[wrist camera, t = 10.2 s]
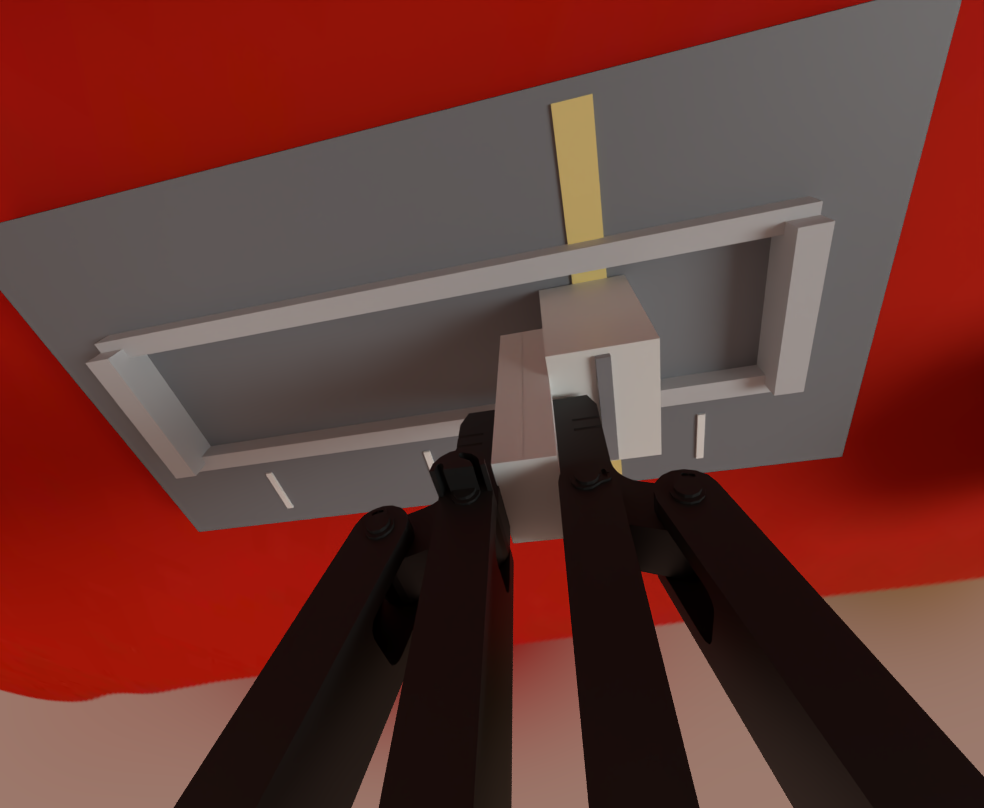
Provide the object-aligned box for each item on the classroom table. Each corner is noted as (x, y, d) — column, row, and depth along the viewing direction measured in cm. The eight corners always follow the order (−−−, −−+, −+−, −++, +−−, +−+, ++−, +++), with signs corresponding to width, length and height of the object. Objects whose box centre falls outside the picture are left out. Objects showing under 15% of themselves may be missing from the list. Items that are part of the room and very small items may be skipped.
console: (14, 219, 19) (-94, 247, 15) (902, -7, 14) (1024, -37, 10) (222, 499, 27) (181, 556, 24) (813, 423, 22) (864, 482, 19)
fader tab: (539, 290, 17) (545, 360, 12) (624, 274, 16) (661, 341, 12) (553, 383, 19) (564, 471, 15) (629, 372, 18) (663, 458, 14)
